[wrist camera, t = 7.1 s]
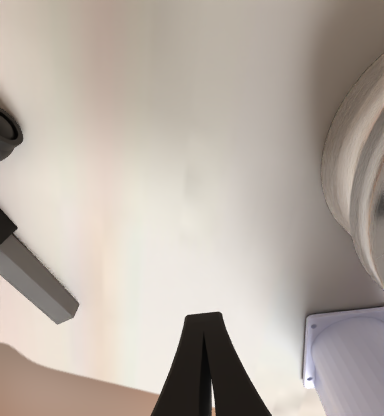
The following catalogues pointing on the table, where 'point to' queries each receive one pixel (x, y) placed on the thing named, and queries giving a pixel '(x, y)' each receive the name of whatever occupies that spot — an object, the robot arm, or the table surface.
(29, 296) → the gun
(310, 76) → the table surface
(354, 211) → the cooker lid
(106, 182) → the table surface
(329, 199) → the cooker pot
